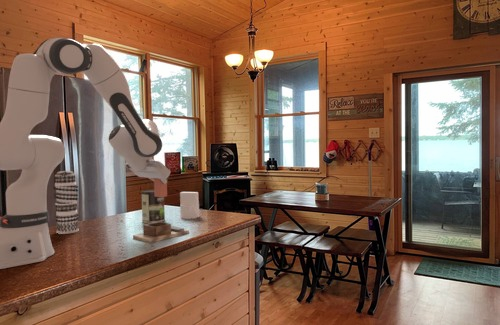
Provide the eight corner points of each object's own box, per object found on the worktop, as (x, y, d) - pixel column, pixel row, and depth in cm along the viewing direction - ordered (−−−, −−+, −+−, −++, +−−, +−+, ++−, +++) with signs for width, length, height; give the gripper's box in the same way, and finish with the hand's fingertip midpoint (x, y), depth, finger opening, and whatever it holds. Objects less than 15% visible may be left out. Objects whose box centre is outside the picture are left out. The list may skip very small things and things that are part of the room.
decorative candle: (63, 235, 148) (60, 172, 147) (50, 232, 153) (47, 171, 152) (84, 230, 156) (82, 170, 155) (71, 228, 161) (69, 170, 160)
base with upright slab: (176, 218, 178) (176, 193, 178) (187, 214, 187) (186, 190, 186) (192, 219, 175) (192, 193, 174) (202, 215, 183) (202, 191, 183)
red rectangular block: (160, 197, 154) (159, 173, 154) (154, 196, 157) (153, 172, 156) (167, 196, 157) (166, 172, 156) (161, 195, 159) (160, 172, 159)
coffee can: (168, 218, 177) (167, 189, 176) (159, 223, 167) (158, 192, 166) (148, 218, 179) (147, 189, 178) (138, 222, 169) (136, 192, 168)
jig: (150, 242, 133) (150, 229, 133) (133, 238, 140) (132, 226, 140) (189, 233, 147) (188, 221, 147) (171, 229, 154) (170, 218, 154)
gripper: (160, 154, 144) (181, 177, 152) (131, 154, 157) (151, 175, 165) (151, 166, 141) (172, 189, 149) (122, 165, 154) (143, 186, 162)
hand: (161, 182), depth 157 cm, fingers closed on red rectangular block, 4 cm apart
